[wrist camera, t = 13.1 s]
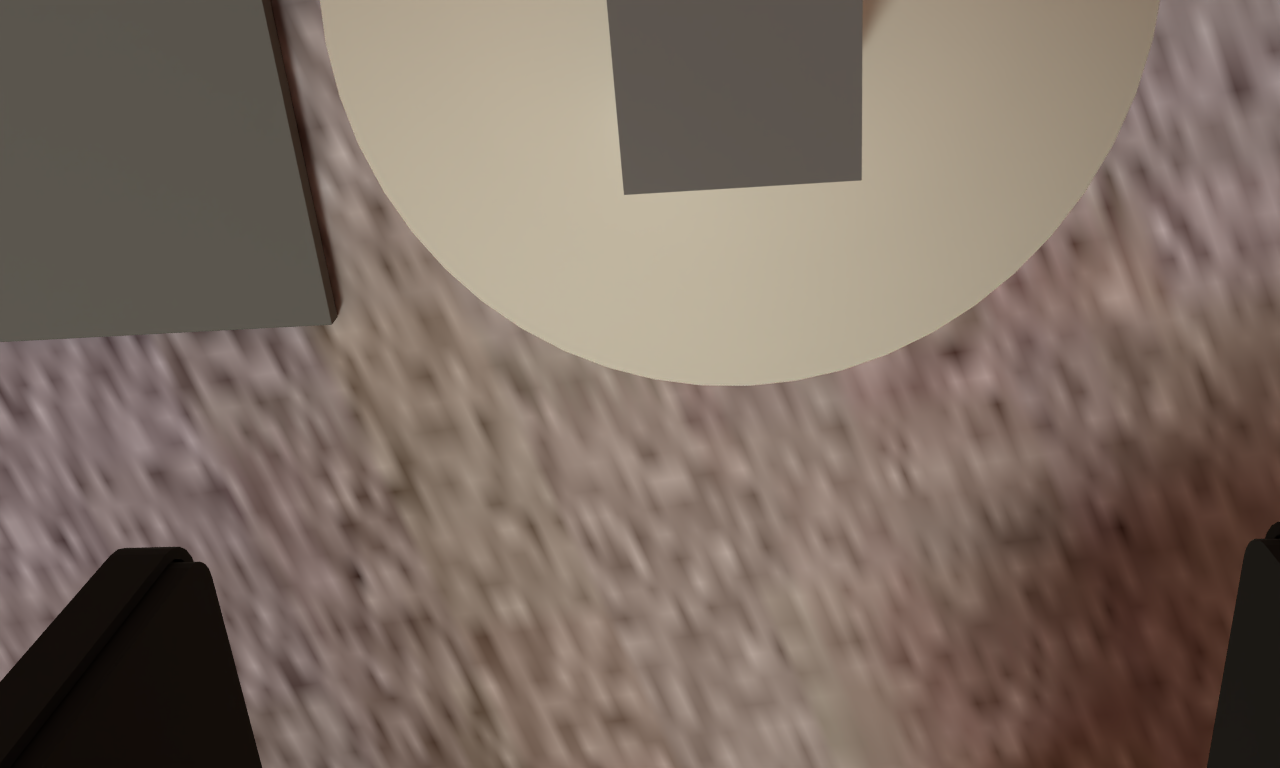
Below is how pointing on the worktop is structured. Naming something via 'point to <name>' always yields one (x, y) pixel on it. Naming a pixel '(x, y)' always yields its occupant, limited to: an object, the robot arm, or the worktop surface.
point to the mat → (151, 172)
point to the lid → (735, 162)
